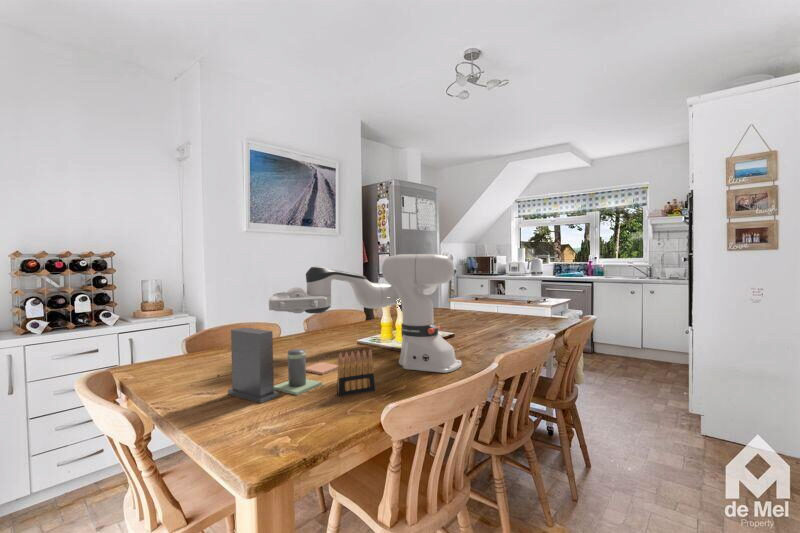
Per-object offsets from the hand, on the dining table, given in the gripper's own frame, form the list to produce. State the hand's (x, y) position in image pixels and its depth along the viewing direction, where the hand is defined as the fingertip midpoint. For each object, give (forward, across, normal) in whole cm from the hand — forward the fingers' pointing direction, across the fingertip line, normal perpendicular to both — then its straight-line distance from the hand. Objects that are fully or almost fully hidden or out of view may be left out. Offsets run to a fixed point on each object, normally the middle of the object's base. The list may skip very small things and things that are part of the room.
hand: (299, 305), depth 132 cm
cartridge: (+18, +2, -21) cm, 28 cm away
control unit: (+21, +14, -22) cm, 33 cm away
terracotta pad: (+2, -7, -22) cm, 23 cm away
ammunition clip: (+28, -14, -22) cm, 39 cm away
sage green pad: (+18, +2, -22) cm, 28 cm away
